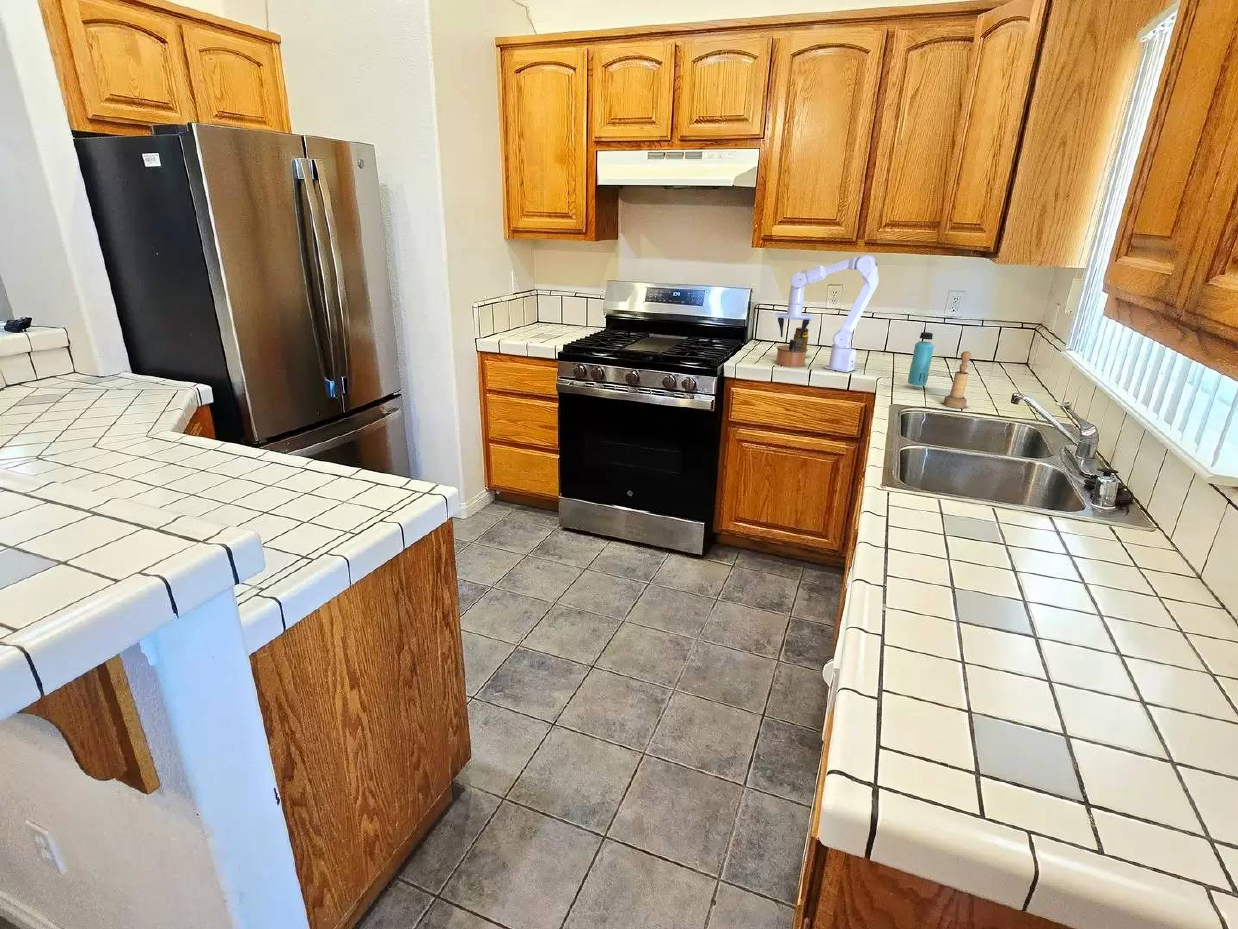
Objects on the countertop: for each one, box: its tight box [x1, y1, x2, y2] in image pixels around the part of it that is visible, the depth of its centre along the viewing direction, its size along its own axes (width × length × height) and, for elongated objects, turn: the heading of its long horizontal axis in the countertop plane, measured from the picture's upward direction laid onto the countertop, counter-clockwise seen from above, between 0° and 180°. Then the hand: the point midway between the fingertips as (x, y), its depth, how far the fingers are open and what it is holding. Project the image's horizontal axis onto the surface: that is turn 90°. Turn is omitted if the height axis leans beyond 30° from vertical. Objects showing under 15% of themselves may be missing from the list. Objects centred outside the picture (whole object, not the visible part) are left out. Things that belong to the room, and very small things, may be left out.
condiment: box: [793, 327, 810, 358], centre depth 278 cm, size 7×8×12 cm
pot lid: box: [776, 338, 808, 353], centre depth 263 cm, size 12×12×4 cm
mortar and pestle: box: [943, 351, 972, 409], centre depth 212 cm, size 7×6×18 cm
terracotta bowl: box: [775, 349, 807, 368], centre depth 265 cm, size 11×11×6 cm
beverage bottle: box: [907, 331, 935, 387], centre depth 232 cm, size 6×7×20 cm
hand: (791, 337), depth 264 cm, fingers open, 7 cm apart
